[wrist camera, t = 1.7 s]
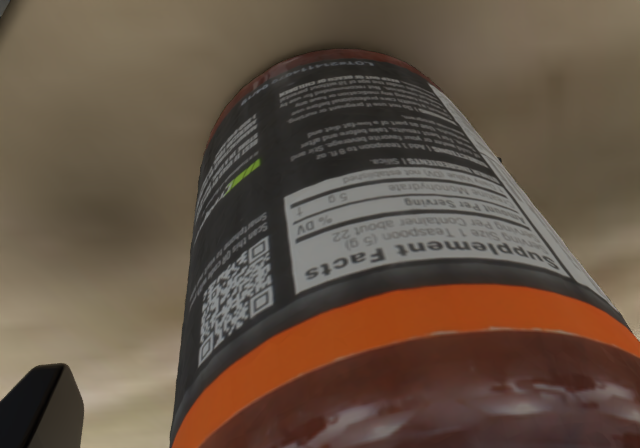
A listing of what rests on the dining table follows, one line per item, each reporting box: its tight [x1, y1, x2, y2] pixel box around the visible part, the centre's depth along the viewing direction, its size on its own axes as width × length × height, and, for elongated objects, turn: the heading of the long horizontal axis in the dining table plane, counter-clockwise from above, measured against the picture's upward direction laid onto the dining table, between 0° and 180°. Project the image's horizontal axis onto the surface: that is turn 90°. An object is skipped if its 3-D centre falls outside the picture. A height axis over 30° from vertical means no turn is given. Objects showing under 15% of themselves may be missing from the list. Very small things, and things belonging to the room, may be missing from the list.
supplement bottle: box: [170, 49, 640, 448], centre depth 8 cm, size 6×6×11 cm
